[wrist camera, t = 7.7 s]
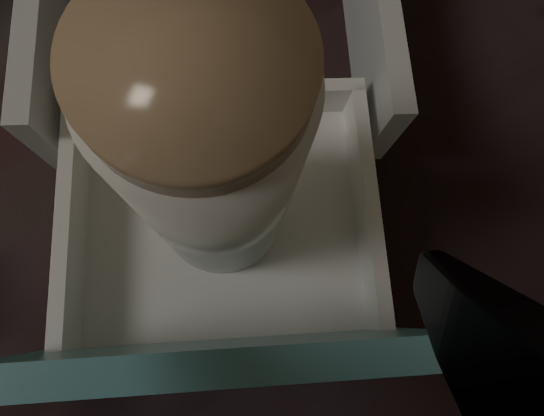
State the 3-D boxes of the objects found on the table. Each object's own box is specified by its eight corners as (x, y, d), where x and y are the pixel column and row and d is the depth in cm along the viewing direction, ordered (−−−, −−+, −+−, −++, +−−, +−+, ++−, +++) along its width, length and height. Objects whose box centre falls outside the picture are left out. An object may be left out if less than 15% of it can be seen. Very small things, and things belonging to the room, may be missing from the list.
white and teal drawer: (392, 350, 19) (489, 370, 12) (57, 372, 18) (-81, 411, 11) (363, 111, 22) (425, -1, 15) (72, 119, 21) (-27, 3, 14)
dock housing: (380, 159, 22) (418, 113, 17) (57, 170, 21) (0, 125, 16) (355, -36, 25) (381, -121, 20) (71, -35, 24) (26, -125, 19)
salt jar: (304, 225, 19) (394, 80, 8) (210, 298, 18) (151, 258, 7) (234, 139, 20) (220, -107, 9) (140, 204, 19) (-20, 24, 8)
